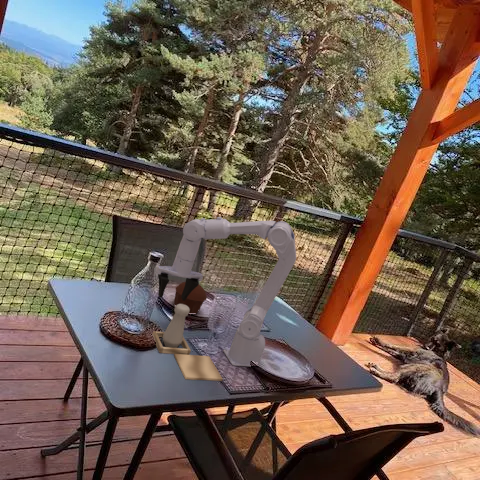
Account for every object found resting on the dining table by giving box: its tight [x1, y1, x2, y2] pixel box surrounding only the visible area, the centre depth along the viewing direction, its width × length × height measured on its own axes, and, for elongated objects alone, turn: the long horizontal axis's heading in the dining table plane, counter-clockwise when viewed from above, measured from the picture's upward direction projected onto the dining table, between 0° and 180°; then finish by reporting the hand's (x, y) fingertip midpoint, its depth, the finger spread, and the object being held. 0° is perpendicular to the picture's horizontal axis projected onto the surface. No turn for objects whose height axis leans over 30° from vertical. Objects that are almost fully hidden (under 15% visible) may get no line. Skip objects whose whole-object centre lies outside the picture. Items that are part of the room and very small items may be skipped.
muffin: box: [173, 281, 208, 314], centre depth 161 cm, size 12×11×10 cm
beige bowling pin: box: [162, 304, 190, 348], centre depth 133 cm, size 6×6×13 cm
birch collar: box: [151, 330, 192, 355], centre depth 134 cm, size 9×9×2 cm
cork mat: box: [173, 354, 224, 382], centre depth 127 cm, size 11×11×1 cm
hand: (171, 297), depth 140 cm, fingers open, 7 cm apart
